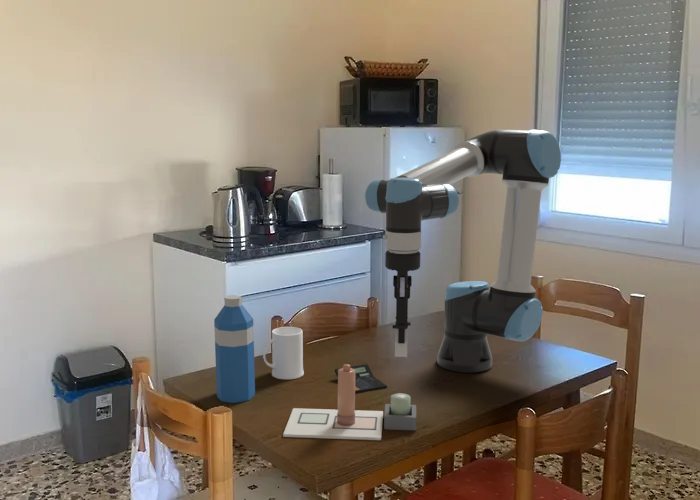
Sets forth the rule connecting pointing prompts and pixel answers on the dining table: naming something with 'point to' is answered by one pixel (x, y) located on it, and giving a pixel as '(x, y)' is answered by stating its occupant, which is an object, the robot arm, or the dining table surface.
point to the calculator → (365, 379)
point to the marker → (346, 396)
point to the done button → (400, 404)
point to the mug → (286, 353)
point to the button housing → (400, 419)
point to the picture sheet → (333, 425)
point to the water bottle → (234, 352)
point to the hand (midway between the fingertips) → (401, 355)
